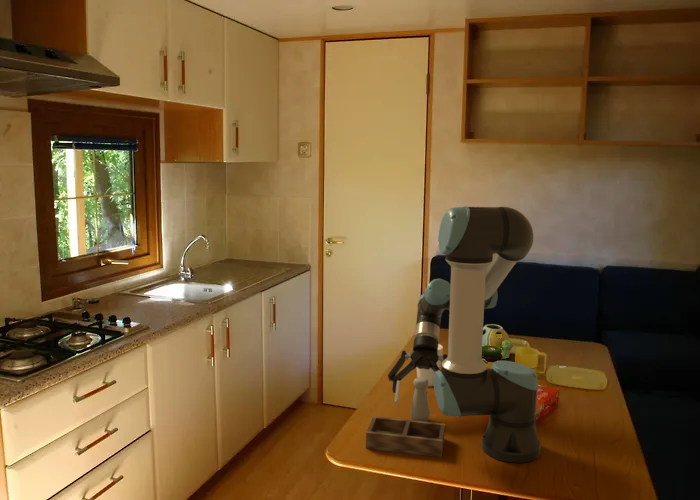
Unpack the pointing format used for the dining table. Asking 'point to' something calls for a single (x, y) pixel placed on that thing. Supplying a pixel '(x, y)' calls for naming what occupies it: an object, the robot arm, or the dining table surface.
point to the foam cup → (430, 373)
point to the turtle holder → (492, 339)
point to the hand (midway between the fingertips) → (419, 405)
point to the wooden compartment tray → (406, 436)
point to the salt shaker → (420, 401)
